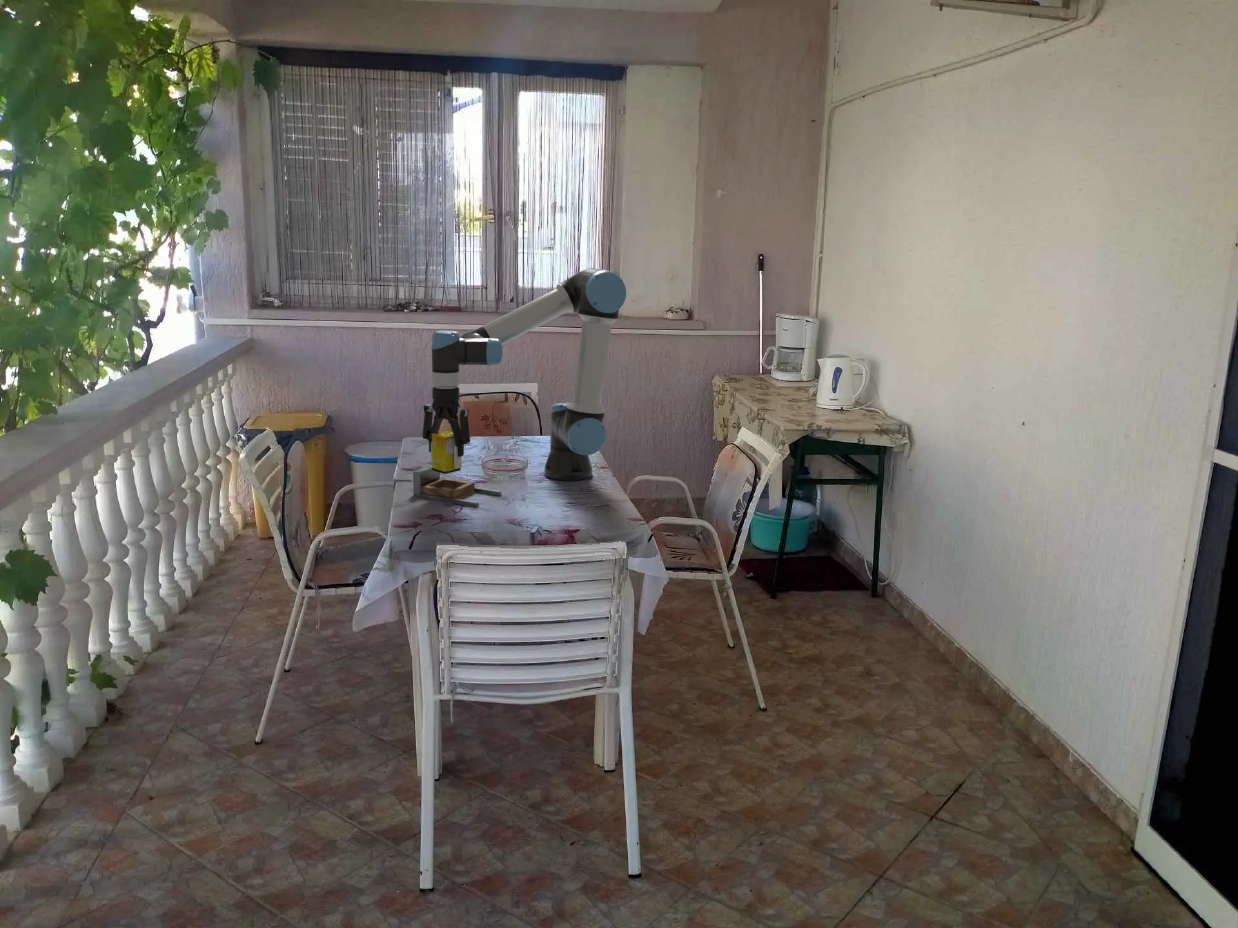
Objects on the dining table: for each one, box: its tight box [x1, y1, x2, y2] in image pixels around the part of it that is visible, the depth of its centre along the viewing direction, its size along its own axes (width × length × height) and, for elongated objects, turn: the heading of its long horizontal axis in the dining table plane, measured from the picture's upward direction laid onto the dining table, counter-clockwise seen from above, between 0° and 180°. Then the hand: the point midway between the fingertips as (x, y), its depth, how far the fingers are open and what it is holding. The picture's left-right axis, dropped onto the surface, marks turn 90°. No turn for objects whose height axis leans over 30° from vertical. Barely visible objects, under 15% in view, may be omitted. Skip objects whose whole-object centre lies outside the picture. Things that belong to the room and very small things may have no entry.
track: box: [412, 464, 502, 508], centre depth 267 cm, size 22×14×7 cm, turn 67°
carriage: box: [421, 477, 476, 500], centre depth 268 cm, size 11×11×3 cm
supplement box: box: [432, 430, 462, 475], centre depth 265 cm, size 6×6×11 cm
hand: (446, 465), depth 266 cm, fingers closed on supplement box, 7 cm apart
